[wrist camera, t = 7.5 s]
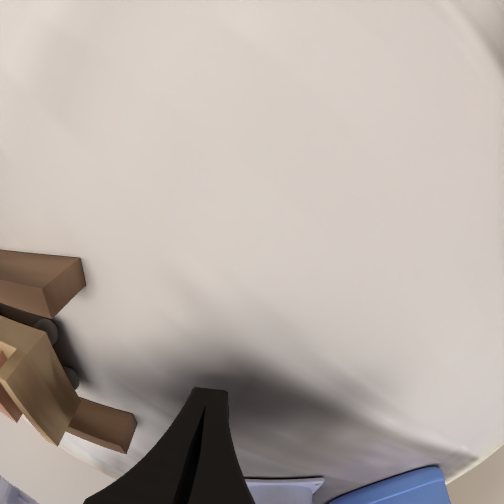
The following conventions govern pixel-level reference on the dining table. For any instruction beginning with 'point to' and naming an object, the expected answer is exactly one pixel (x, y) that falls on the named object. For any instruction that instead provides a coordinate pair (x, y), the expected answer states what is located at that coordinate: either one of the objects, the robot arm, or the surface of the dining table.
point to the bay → (48, 305)
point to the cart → (36, 378)
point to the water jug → (402, 490)
